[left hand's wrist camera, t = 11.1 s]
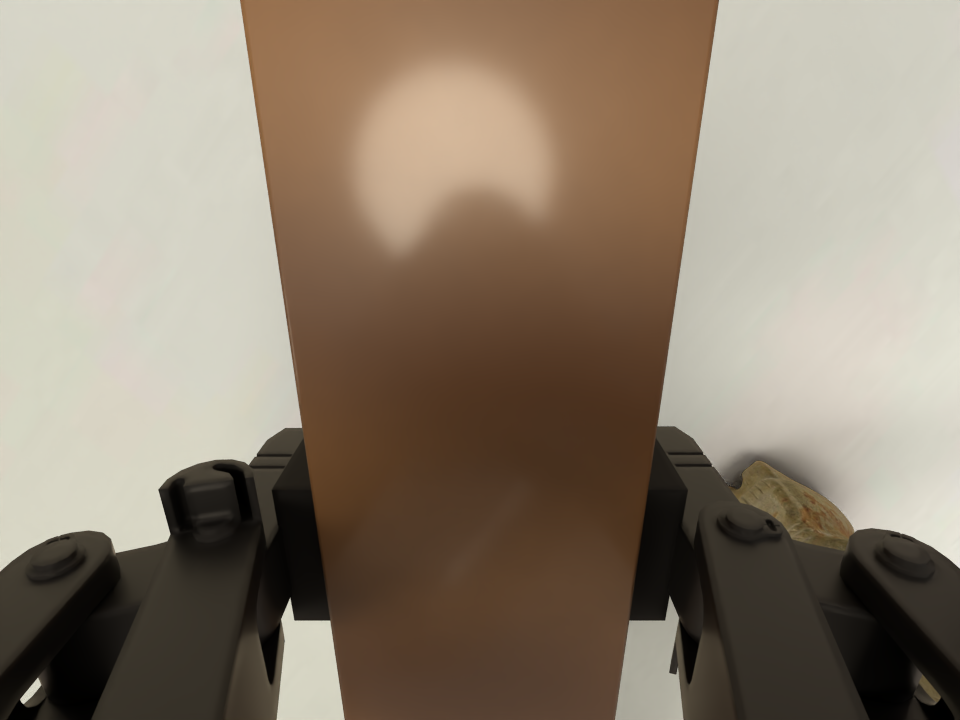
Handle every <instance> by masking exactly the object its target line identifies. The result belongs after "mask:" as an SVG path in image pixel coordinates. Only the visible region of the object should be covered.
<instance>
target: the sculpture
mask: <svg viewBox="0 0 960 720" xmlns="http://www.w3.org/2000/svg"><path fill="white" fill-rule="evenodd" d="M742 478H743V483H742V486H741V487H740V488H739V489H735V488H734V487H731V486H728V487H729V488H730V489H731V491H732V492H733V494H734V495H735V496H736V498H737V499H738V500H739V502H740V503H744V504H748V505H752V506H754V507H756V508H758V509H761V510H763V511H765V512H767V513H769V514H770V515H772V516H773V517H774V518H776V519H777V520H778V521H780V522H781V523H782V524H783V526H784V527H785V528H786V530H787V531H788V532H789V534H790V536H791V539H793V540H797V541H800V542H804V543H809V544H813V545H818V546H823V547H828V548H833V549H837V550H842V551H845V549H846V546H847V543H848V540H849V537H850V536H851V535H852V534H853V533H854V529H853V527H852V525H851V524H850V522H849V521H848V519H847V518H846V517H845V516H844V515H843V513H842V512H841V511H840V510H839V509H838V508H837V507H836V506H835V505H834V504H833V503H831V502H830V501H829V500H828V499H826V498H825V497H823V496H822V495H820V494H818V493H817V492H815V491H813V490H811V489H810V488H808V487H806V486H804V485H802V484H800V483H798V482H796V481H794V480H792V479H790V478H788V477H787V476H785V475H784V474H782V473H781V472H779V471H777V470H775V469H774V468H772V467H771V466H770V465H768V464H767V463H765V462H762V461H759V460H758V461H755V462H754V463H753V464H752V465H751V466H749V467H748V468H747V469H745V470H744V471H743V473H742ZM919 684H920V685H921V686H922V688H923V689H924V690H925V691H926V693H927V694H928V695H929V696H930V697H931V698H932V699H933V700H934V701H936V702H938V701H939V700H940V698H941V696H940V695H939V694H938V692H937V691H936V690H935V689H934V688H933V686H932V685H931V684H930V683H929V682H928V680H927V679H926V678H925V677H924V676H923V675H922V677H921V679H920V681H919Z"/></svg>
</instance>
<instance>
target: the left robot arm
mask: <svg viewBox="0 0 960 720" xmlns="http://www.w3.org/2000/svg"><path fill="white" fill-rule="evenodd" d="M159 493H160V497H161V501H162V504H163V508H164V512H165V515H166V519H167V523H168V526H169V530H170V534H171V535H170V537H169V539H168V542H164V543H160V544H157V545H152V546H148V547H143V548H138V549H133V550H129V551H124V552H119V553H115V550H114V547H113V544H112V541H111V539H110V538H109V537H108V536H106V535H105V534H104V533H102V532H95V531H82V532H74V533H68V534H64V535H61V536H59V537H58V536H57V537H54V538H51V539H48V540H46V541H45V542H43V543H41V544H39V545H37V546H35V547H33V548H31V549H29V550H27V551H26V552H24V553H23V554H22V555H20V556H19V557H17V558H16V559H15V560H13V561H12V562H11V563H9V564H8V565H7V566H6V567H5V568H4V569H3V570H2V571H0V720H276V719H277V710H278V700H279V690H280V681H281V671H282V661H283V652H284V642H285V640H284V633H283V627H282V622H281V618H282V615H283V613H284V611H285V608H286V606H287V604H288V601H289V599H290V597H291V603H292V609H293V614H294V620H330V614H329V608H328V601H327V594H326V587H325V580H324V573H323V566H322V559H321V553H320V546H319V539H318V532H317V525H316V518H315V511H314V504H313V498H312V491H311V484H310V477H309V470H308V463H307V456H306V449H305V443H304V436H303V429H302V428H285V429H283V430H282V431H280V432H279V433H277V434H276V435H274V436H273V437H271V438H270V439H268V440H267V441H266V442H265V444H264V445H263V446H262V448H261V449H260V451H259V452H258V453H257V457H254V459H253V460H252V461H251V463H250V464H249V465H247V464H246V463H245V462H241V461H237V460H213V461H209V462H204V463H199V464H196V465H194V466H191V467H189V468H186V469H184V470H181V471H180V472H178V473H177V474H175V475H173V476H172V477H170V478H169V479H167V480H166V481H165V483H164V484H163V485H162V486H161V487H160V488H159ZM669 595H670V597H671V600H672V602H673V604H674V607H675V609H676V611H677V614H678V616H679V622H678V627H677V633H676V638H675V643H674V648H673V654H672V659H671V665H670V671H669V673H672V674H676V673H677V668H678V670H679V679H680V689H681V699H682V708H683V718H684V720H960V568H958V567H957V566H956V565H955V564H954V563H953V562H952V561H950V560H949V559H948V558H947V557H945V556H944V555H942V554H941V553H940V552H938V551H937V550H935V549H934V548H933V547H931V546H929V545H927V544H925V543H923V542H920V541H918V540H916V539H915V538H913V537H911V536H908V535H905V534H900V533H898V532H894V531H890V530H882V529H873V528H870V529H863V530H857V531H856V532H855V533H853V534H852V535H851V536H850V537H849V540H848V543H847V546H846V549H845V551H842V550H837V549H833V548H828V547H823V546H818V545H813V544H809V543H804V542H800V541H797V540H793V539H791V536H790V534H789V532H788V531H787V530H786V528H785V527H784V526H783V524H782V523H781V522H780V521H778V520H777V519H776V518H774V517H773V516H772V515H770V514H769V513H767V512H765V511H763V510H761V509H758V508H756V507H754V506H752V505H748V504H744V503H740V502H739V500H738V499H737V498H736V496H735V495H734V494H733V492H732V491H731V489H730V488H729V487H728V485H727V484H726V483H725V481H724V480H723V479H722V477H721V476H720V475H719V473H718V472H717V471H716V469H715V468H714V467H712V464H711V462H710V461H709V460H708V458H707V457H706V456H705V455H703V452H702V450H701V449H700V448H699V446H698V445H697V443H696V442H695V441H694V439H693V438H691V437H690V436H688V435H687V434H685V433H684V432H682V431H681V430H679V429H678V428H676V427H657V432H656V439H655V445H654V452H653V459H652V466H651V473H650V480H649V487H648V494H647V501H646V508H645V515H644V521H643V528H642V535H641V542H640V549H639V556H638V563H637V570H636V577H635V584H634V591H633V598H632V604H631V611H630V618H629V620H665V618H666V612H667V607H668V601H669ZM922 675H923V676H924V677H925V678H926V679H927V680H928V682H929V683H930V684H931V685H932V686H933V688H934V689H935V690H936V691H937V692H938V694H939V695H940V696H941V698H940V700H939V701H938V702H936V701H934V700H933V699H932V698H931V697H930V696H929V695H928V694H927V693H926V691H925V690H924V689H923V688H922V686H921V685H920V684H919V681H920V679H921V677H922ZM37 678H39V680H40V683H41V687H40V688H39V689H38V690H37V692H36V693H35V694H34V695H33V696H32V697H31V698H30V699H29V700H28V701H27V702H26V703H25V704H22V703H21V701H20V698H21V697H22V696H23V695H24V694H25V692H26V691H27V690H28V689H29V688H30V686H31V685H32V684H33V683H34V681H35V680H36V679H37Z"/></svg>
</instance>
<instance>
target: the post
mask: <svg viewBox="0 0 960 720" xmlns="http://www.w3.org/2000/svg"><path fill="white" fill-rule="evenodd" d="M240 3H241V9H242V16H243V23H244V30H245V37H246V44H247V51H248V58H249V64H250V71H251V78H252V85H253V92H254V99H255V106H256V113H257V119H258V126H259V133H260V140H261V147H262V154H263V161H264V168H265V174H266V181H267V188H268V195H269V202H270V209H271V216H272V223H273V229H274V236H275V243H276V250H277V257H278V264H279V271H280V278H281V284H282V291H283V298H284V305H285V312H286V319H287V326H288V333H289V339H290V346H291V353H292V360H293V367H294V374H295V381H296V388H297V394H298V401H299V408H300V415H301V422H302V429H303V436H304V443H305V449H306V456H307V463H308V470H309V477H310V484H311V491H312V498H313V504H314V511H315V518H316V525H317V532H318V539H319V546H320V553H321V559H322V566H323V573H324V580H325V587H326V594H327V601H328V608H329V614H330V621H331V628H332V635H333V642H334V649H335V656H336V663H337V669H338V676H339V683H340V690H341V697H342V704H343V711H344V718H345V720H615V715H616V708H617V701H618V694H619V687H620V680H621V674H622V667H623V660H624V653H625V646H626V639H627V632H628V625H629V618H630V611H631V604H632V598H633V591H634V584H635V577H636V570H637V563H638V556H639V549H640V542H641V535H642V528H643V521H644V515H645V508H646V501H647V494H648V487H649V480H650V473H651V466H652V459H653V452H654V445H655V439H656V432H657V425H658V418H659V411H660V404H661V397H662V390H663V383H664V376H665V369H666V363H667V356H668V349H669V342H670V335H671V328H672V321H673V314H674V307H675V300H676V293H677V286H678V280H679V273H680V266H681V259H682V252H683V245H684V238H685V231H686V224H687V217H688V210H689V204H690V197H691V190H692V183H693V176H694V169H695V162H696V155H697V148H698V141H699V134H700V128H701V121H702V114H703V107H704V100H705V93H706V86H707V79H708V72H709V65H710V58H711V52H712V45H713V38H714V31H715V24H716V17H717V10H718V3H719V0H240Z"/></svg>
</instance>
